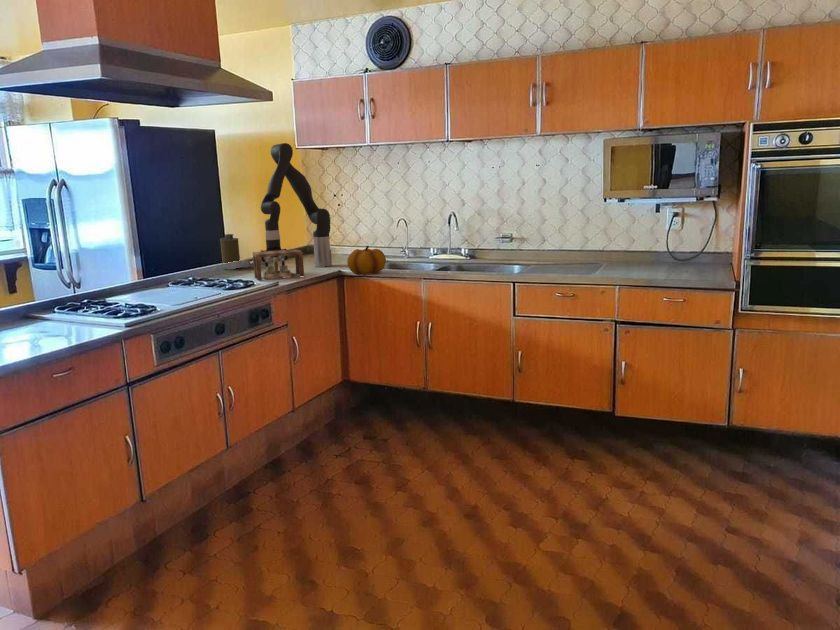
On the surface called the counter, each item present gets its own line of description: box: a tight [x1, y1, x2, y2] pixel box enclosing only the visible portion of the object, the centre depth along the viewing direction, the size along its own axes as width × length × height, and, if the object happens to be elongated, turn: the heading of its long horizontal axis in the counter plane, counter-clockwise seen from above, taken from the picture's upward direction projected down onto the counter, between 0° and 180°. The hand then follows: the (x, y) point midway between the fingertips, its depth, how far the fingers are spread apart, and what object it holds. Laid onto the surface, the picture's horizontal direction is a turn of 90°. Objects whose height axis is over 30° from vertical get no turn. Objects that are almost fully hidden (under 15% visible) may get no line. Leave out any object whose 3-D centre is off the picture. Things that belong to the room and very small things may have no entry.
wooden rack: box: [252, 248, 305, 281], centre depth 347 cm, size 24×12×14 cm, turn 111°
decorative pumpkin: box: [346, 245, 387, 276], centre depth 352 cm, size 20×22×15 cm
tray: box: [262, 257, 292, 280], centre depth 354 cm, size 14×23×8 cm, turn 15°
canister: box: [219, 233, 241, 265], centre depth 384 cm, size 11×10×20 cm
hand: (275, 268), depth 359 cm, fingers open, 8 cm apart
